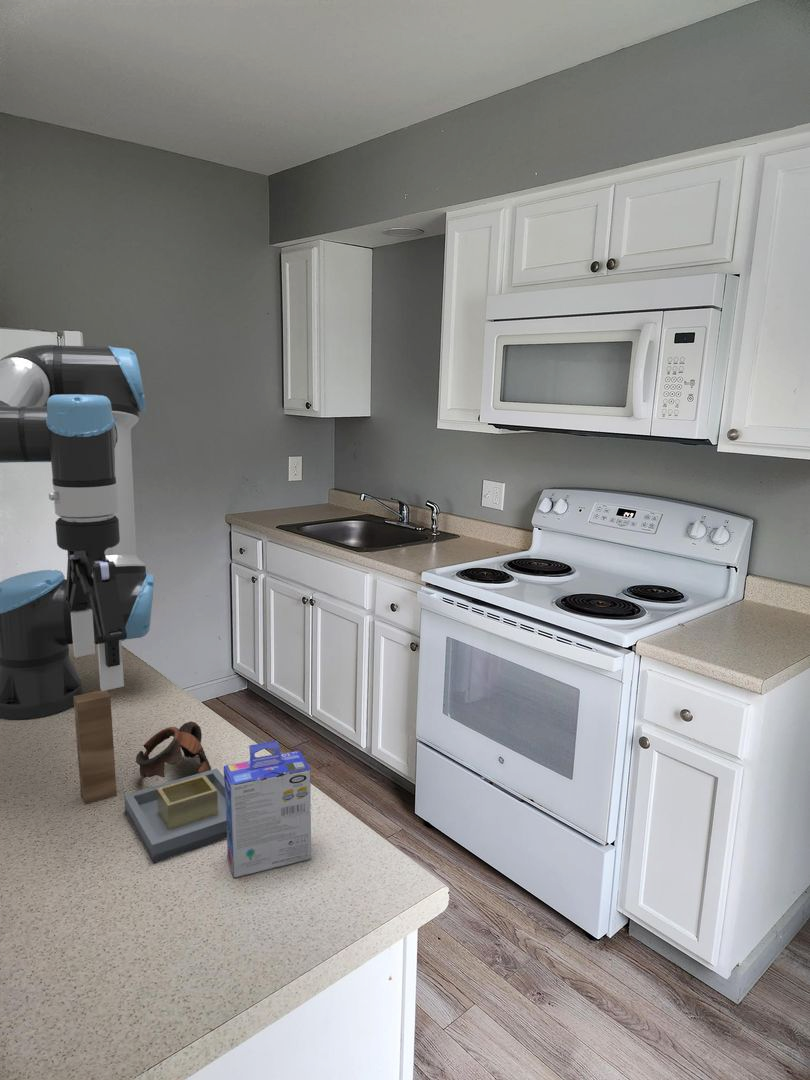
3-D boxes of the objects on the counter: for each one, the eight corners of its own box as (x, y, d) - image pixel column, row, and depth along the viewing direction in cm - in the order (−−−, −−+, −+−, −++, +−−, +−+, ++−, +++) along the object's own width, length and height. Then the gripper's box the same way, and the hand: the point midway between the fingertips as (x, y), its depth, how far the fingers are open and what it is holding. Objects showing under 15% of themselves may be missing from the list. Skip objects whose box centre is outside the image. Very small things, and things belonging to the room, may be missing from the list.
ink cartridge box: (301, 834, 95) (300, 731, 92) (314, 859, 90) (313, 752, 87) (224, 852, 91) (221, 745, 88) (233, 879, 86) (230, 767, 83)
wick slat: (80, 795, 102) (73, 696, 99) (112, 787, 105) (105, 689, 102) (84, 804, 100) (77, 703, 97) (116, 795, 103) (110, 696, 100)
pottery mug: (205, 796, 104) (172, 756, 101) (152, 815, 106) (118, 776, 103) (229, 738, 115) (200, 700, 111) (180, 756, 117) (150, 719, 114)
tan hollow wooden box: (157, 812, 97) (156, 788, 96) (205, 797, 101) (204, 774, 100) (169, 830, 93) (168, 805, 93) (218, 814, 97) (217, 790, 96)
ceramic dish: (124, 811, 99) (123, 795, 98) (217, 784, 106) (216, 768, 106) (153, 863, 88) (152, 845, 88) (253, 828, 96) (253, 811, 95)
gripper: (35, 504, 102) (47, 647, 106) (81, 537, 82) (93, 711, 87) (91, 499, 106) (101, 638, 111) (148, 530, 87) (156, 696, 91)
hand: (97, 670), depth 99 cm, fingers open, 13 cm apart
